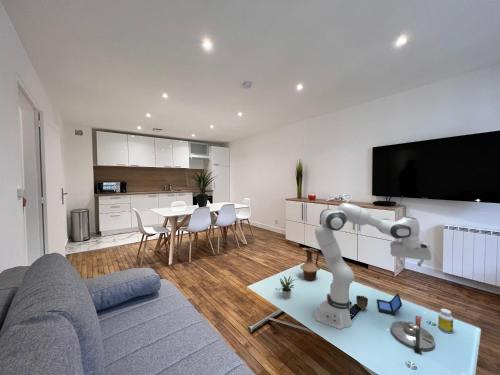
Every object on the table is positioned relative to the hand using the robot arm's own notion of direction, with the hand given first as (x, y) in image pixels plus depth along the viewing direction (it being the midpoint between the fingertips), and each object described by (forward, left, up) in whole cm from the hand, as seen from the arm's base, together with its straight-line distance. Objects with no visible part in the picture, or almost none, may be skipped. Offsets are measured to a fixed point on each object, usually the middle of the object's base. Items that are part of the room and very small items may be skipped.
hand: (409, 264), depth 130 cm
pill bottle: (+18, +1, -37) cm, 41 cm away
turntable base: (-2, -14, -37) cm, 40 cm away
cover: (-2, -14, -34) cm, 37 cm away
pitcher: (-66, +36, -37) cm, 84 cm away
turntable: (-2, -14, -36) cm, 39 cm away
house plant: (-77, -1, -37) cm, 86 cm away
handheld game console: (-9, +12, -38) cm, 40 cm away
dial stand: (-2, -23, -37) cm, 44 cm away
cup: (-26, +4, -37) cm, 46 cm away
